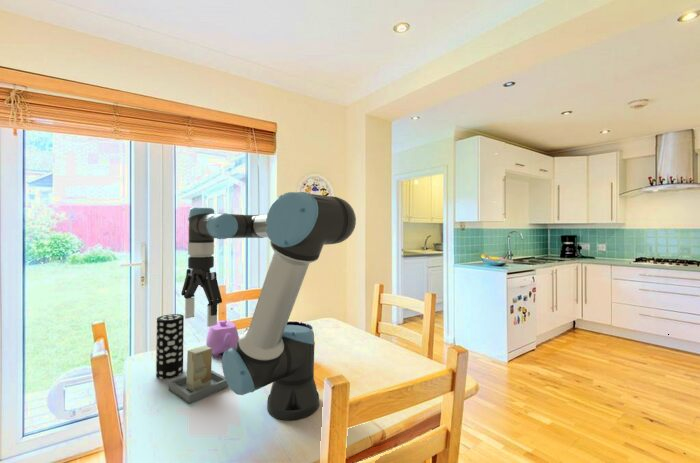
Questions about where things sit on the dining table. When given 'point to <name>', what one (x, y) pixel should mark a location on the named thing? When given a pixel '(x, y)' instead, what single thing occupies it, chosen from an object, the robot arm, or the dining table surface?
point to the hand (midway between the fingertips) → (200, 321)
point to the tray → (181, 391)
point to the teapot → (222, 337)
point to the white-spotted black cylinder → (169, 346)
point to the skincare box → (199, 368)
